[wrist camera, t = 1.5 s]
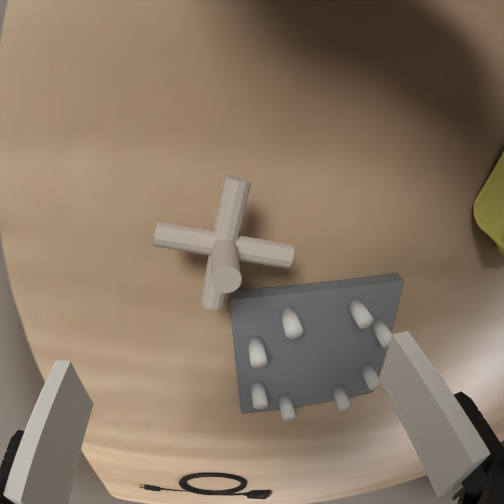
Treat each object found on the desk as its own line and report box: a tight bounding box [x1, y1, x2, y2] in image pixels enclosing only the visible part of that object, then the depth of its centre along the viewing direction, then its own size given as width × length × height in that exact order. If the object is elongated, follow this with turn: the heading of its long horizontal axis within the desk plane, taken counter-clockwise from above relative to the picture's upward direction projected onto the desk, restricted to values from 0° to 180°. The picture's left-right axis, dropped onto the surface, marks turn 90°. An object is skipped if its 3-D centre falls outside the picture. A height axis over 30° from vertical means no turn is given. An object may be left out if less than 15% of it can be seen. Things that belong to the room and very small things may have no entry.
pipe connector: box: [154, 175, 294, 309], centre depth 23 cm, size 10×10×10 cm
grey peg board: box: [229, 273, 403, 421], centre depth 33 cm, size 18×18×4 cm
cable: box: [140, 473, 272, 499], centre depth 49 cm, size 14×28×2 cm, turn 76°
